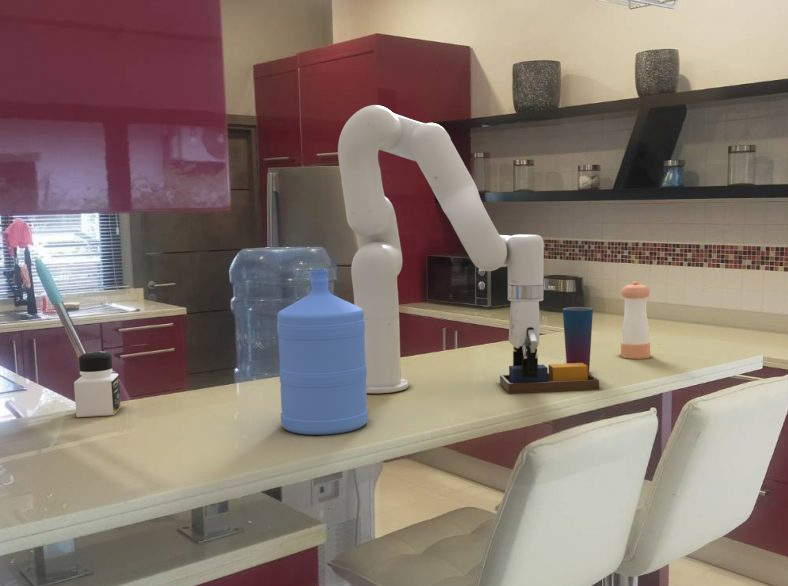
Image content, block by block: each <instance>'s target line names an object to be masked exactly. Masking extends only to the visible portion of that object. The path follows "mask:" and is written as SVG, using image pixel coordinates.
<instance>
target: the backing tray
mask: <svg viewBox="0 0 788 586" xmlns="http://www.w3.org/2000/svg"><path fill="white" fill-rule="evenodd" d="M499 384H500V386H501V387H502V388H503V389H504V390H505V391H506V392H507V394H524V393H525V394H528V393H549V392H550V393H552V392H569V391H570V392H571V391H574V392H575V391H593V390H594V391H595V390H596V391H597V390H600V380H599V379H598V378H597V377H595V376H594V375H592V374H590V372H589V373H588V380H577V381H554V382H549V372H548V382H531V383H510V382H509V374H500V375H499Z"/></svg>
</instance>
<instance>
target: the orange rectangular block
mask: <svg viewBox="0 0 788 586" xmlns="http://www.w3.org/2000/svg"><path fill="white" fill-rule="evenodd" d="M548 373H549V382H554V381H577V380H588V366H587V365H585V364H583V363H568V364H566V363H549V364H548Z"/></svg>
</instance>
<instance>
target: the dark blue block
mask: <svg viewBox="0 0 788 586" xmlns="http://www.w3.org/2000/svg"><path fill="white" fill-rule="evenodd" d="M548 373H549V367H547V366H546V365H545V364H538V377H537V378H523V377H522V365H520V366H513V365H509V366H508V375H509V382H510V383H531V382H548Z"/></svg>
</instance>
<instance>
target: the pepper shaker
mask: <svg viewBox="0 0 788 586" xmlns="http://www.w3.org/2000/svg"><path fill="white" fill-rule="evenodd" d="M620 294H621V296H622V297H623V298H624V311H623V312H624V313H623V314H624V315H623V321H622V327H621V335H622V336H621V338H622V339H621V340H622V341H621V342H620V357H621V358H624V359H629V360H630V359H632V360H633V359H634V360H640V359H649V358H650V357H651V342H650V341H649V339H650V337H649V336H650V328H649V320H648V315H647V313H648V312H647V307H648V306H647V298H648V297H649V296H650V294H651V291H650V289H649V287H648V286H647V285H644V284H640V282H639V281H638V280H637V281H636V280H634V281H632V284H627V285H625V286H623V287H622V288H621V292H620Z"/></svg>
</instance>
